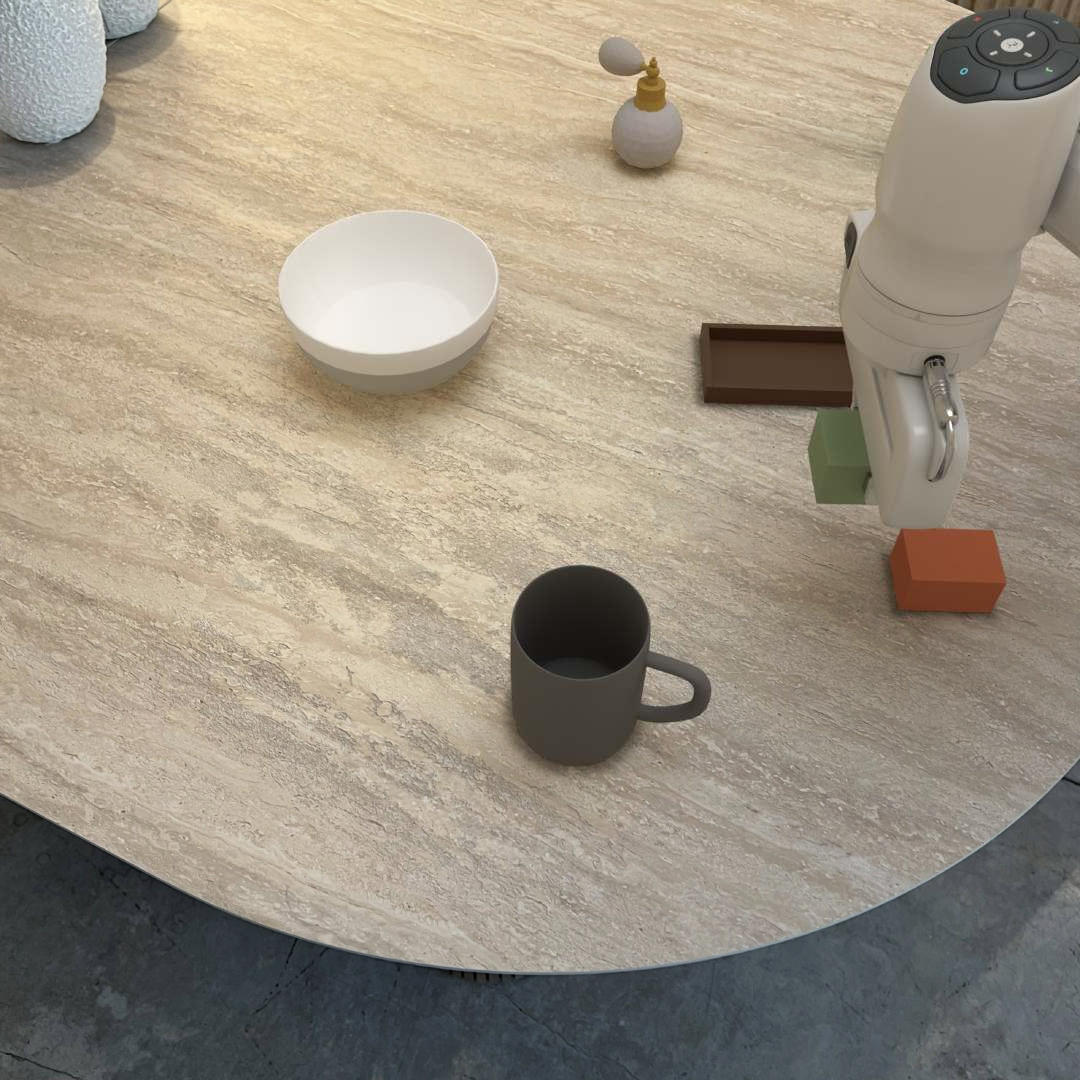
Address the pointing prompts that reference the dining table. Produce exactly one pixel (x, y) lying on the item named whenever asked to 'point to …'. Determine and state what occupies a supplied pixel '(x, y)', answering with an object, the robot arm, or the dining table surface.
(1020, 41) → the robot arm
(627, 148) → the perfume bottle
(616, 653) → the mug
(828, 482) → the green rectangular block
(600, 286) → the dining table surface
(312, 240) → the bowl
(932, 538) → the orange block
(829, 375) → the brown wooden tray
